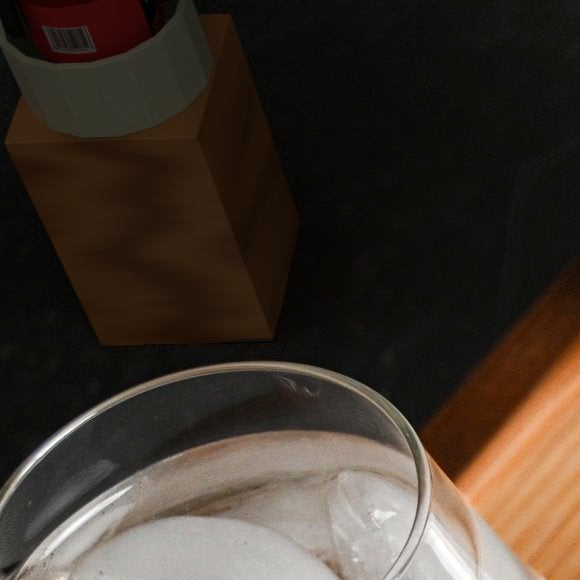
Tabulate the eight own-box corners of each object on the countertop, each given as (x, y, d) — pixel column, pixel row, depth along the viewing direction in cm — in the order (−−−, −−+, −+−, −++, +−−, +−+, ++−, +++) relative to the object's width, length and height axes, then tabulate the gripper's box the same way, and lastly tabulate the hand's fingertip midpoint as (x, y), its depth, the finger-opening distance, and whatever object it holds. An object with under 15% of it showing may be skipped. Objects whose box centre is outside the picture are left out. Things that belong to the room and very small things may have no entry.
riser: (101, 346, 132) (3, 143, 118) (136, 226, 139) (47, 19, 124) (274, 342, 132) (196, 137, 117) (301, 221, 138) (230, 13, 124)
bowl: (7, 140, 118) (-26, 71, 114) (49, 21, 124) (19, -50, 120) (194, 135, 117) (167, 64, 113) (226, 15, 124) (202, -56, 119)
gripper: (139, -415, 113) (267, -14, 119) (-222, -337, 110) (-74, 70, 116) (122, -473, 106) (259, -43, 111) (-265, -391, 103) (-106, 46, 108)
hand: (89, 14), depth 113 cm, fingers closed on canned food, 8 cm apart
